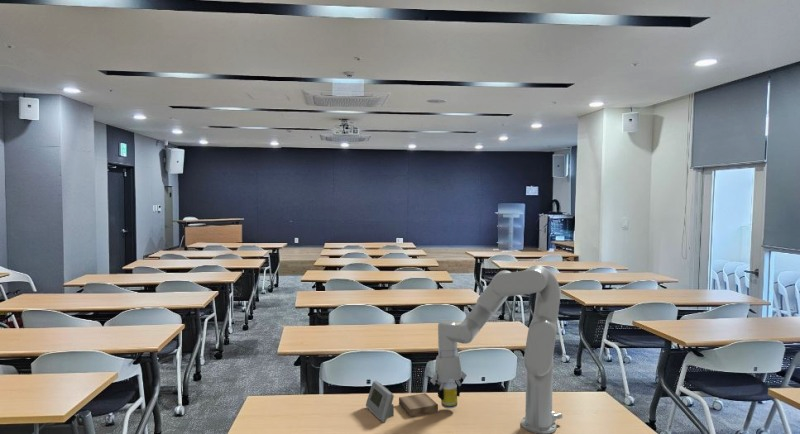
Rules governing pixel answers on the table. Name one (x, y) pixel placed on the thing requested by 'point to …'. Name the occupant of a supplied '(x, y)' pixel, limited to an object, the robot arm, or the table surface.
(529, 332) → the robot arm
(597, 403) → the table surface
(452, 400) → the pill bottle
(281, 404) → the table surface
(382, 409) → the digital clock
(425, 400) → the walnut block
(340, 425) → the table surface
